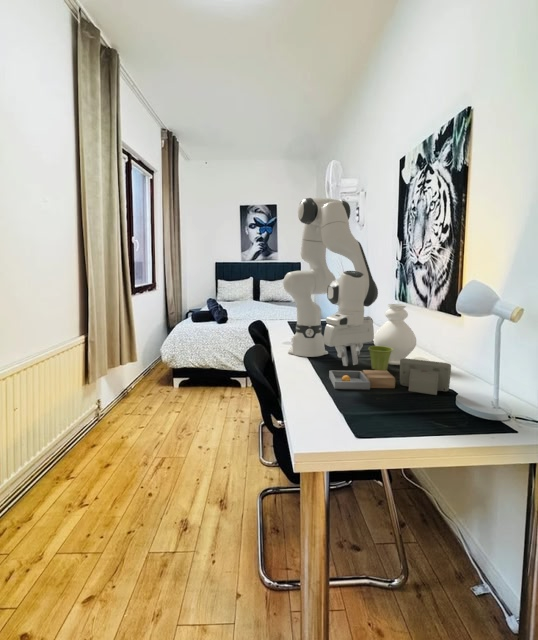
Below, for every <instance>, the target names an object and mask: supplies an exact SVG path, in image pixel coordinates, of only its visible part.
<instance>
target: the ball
mask: <svg viewBox="0 0 538 640" xmlns="http://www.w3.org/2000/svg"><path fill="white" fill-rule="evenodd" d="M342 381H350V377H349V376H348V375H345V376H343V377H342Z"/></svg>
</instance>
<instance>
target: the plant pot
mask: <svg viewBox="0 0 538 640" xmlns="http://www.w3.org/2000/svg"><path fill="white" fill-rule="evenodd" d="M367 349H368V351H369V354H370V367H371V368H370V369H371V370H387V371H388V366H389V364H388V362H389V358H390V354H391V351H392V350H393V349H392V348H389V347H384V346H375V345H372V346H369V347H368V348H367Z"/></svg>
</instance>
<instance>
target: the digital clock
mask: <svg viewBox="0 0 538 640" xmlns="http://www.w3.org/2000/svg"><path fill="white" fill-rule="evenodd" d="M451 373H452V365H451V364H450V363H448V362H443V361H435V360H433V361H432V360H424V359H415V358H414V359H413V358H407V357H406V358H403V359H401V360H400V365H399V383H400V385H401V386H403V387H408V392H411V393H412V392H413V393H419V394H426V395H434V396H437V395H438V392H448V391H449V390H450V385H451V384H450V383H451Z"/></svg>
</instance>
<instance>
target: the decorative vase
mask: <svg viewBox="0 0 538 640" xmlns="http://www.w3.org/2000/svg"><path fill="white" fill-rule="evenodd" d="M387 306H388V309H387V310H386V311H385V312H384V316H385V317H386V318H387V319H388V320H387V321H385V322H383V324H382V325H381V326H380V327H379V328H378V329H377V331H376V332H375V333H374V339H373V344H374V346H384V347H389V348H392V349H393V350H392V351H391V354H390V358H389V362H388V365H395V366H396V365H397V366H400V360H401V359H403V358H407V357H408V356H409V355H410V354H411V353H412V352H413V351H414V349H415V348H416V346H417V336H416V335H415V333H414V331H413V330H412V328H411V327H410V326H409V324H408V323H406V322H405V319H407V318H408V317H409V313H408V312H407V310H405V308H407V305H406V304H401V303H388V304H387Z"/></svg>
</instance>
